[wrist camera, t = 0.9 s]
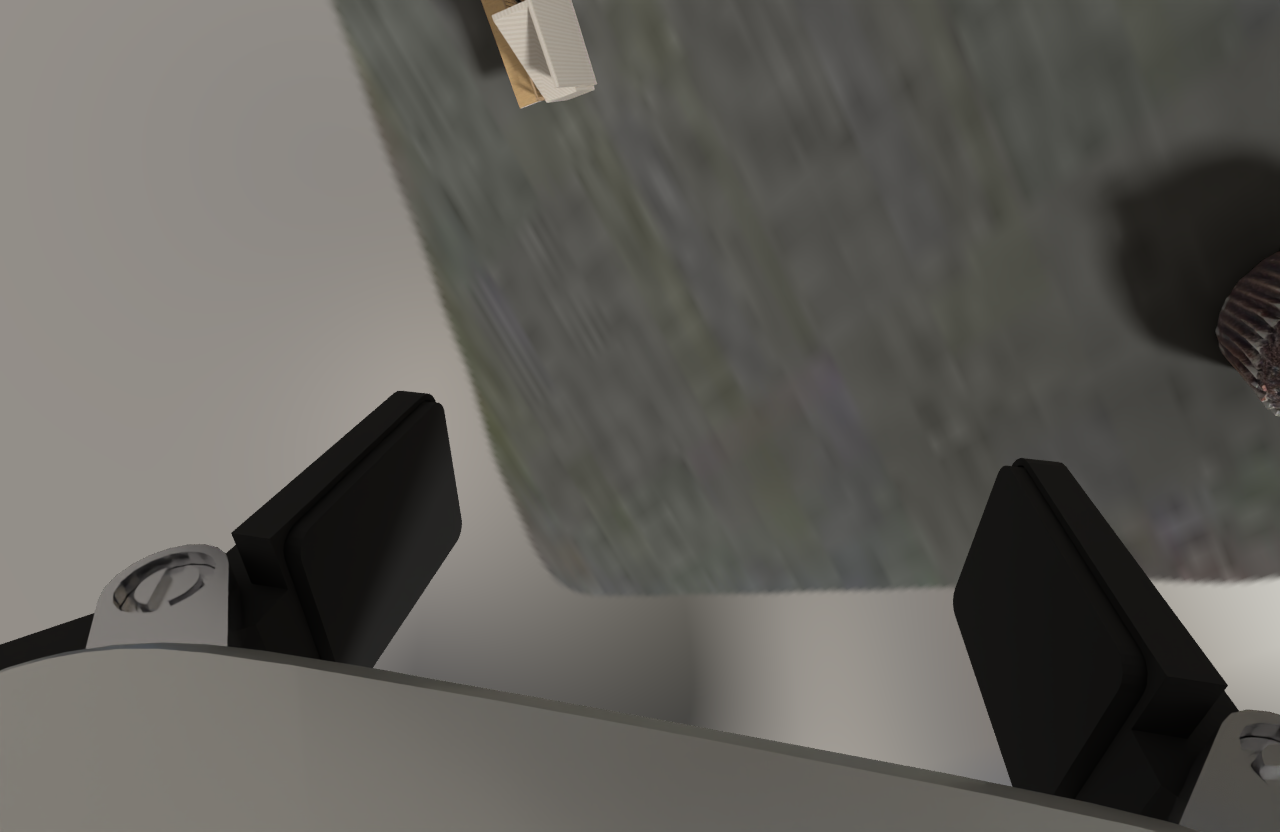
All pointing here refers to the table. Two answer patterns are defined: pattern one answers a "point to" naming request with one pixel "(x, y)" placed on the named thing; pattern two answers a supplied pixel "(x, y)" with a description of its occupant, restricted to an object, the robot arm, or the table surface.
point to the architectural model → (541, 49)
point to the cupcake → (1255, 330)
